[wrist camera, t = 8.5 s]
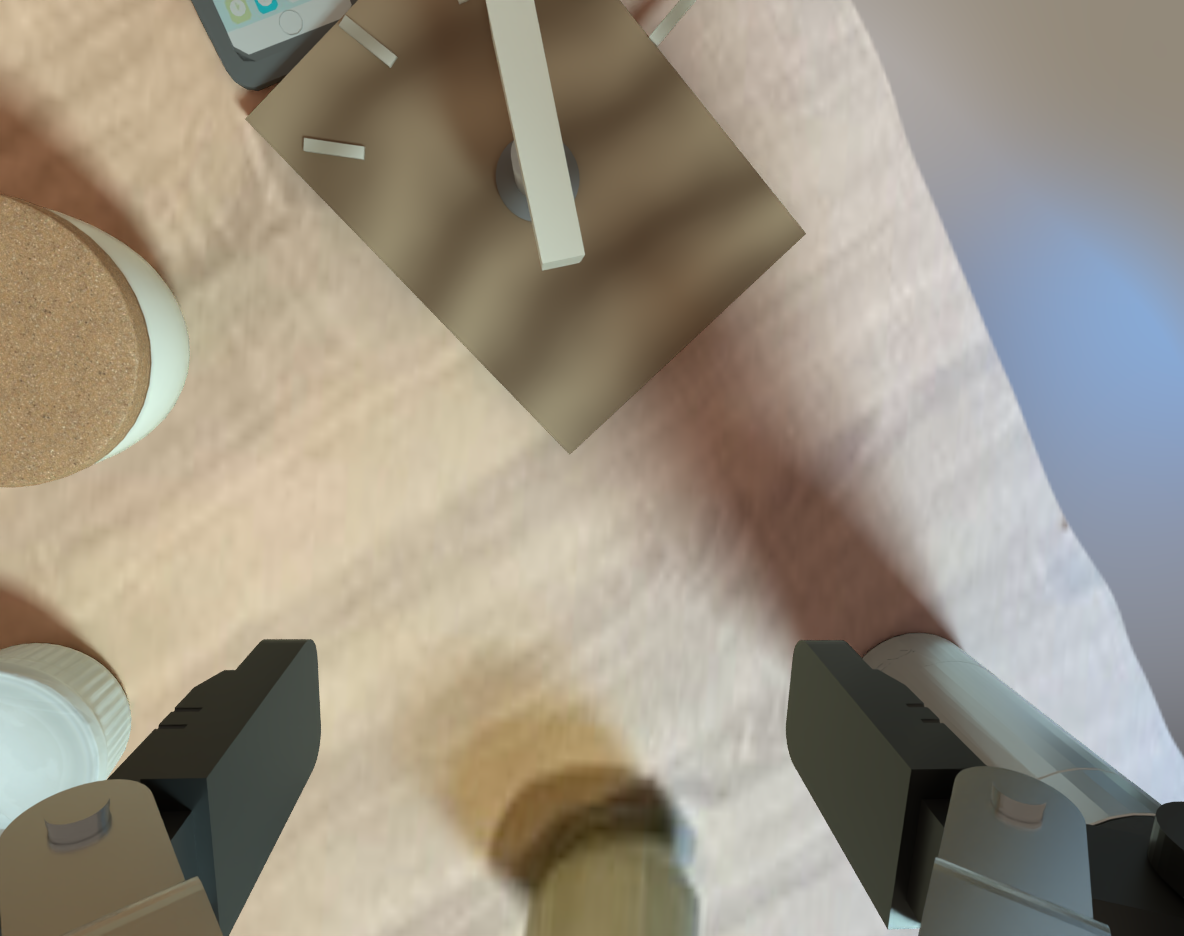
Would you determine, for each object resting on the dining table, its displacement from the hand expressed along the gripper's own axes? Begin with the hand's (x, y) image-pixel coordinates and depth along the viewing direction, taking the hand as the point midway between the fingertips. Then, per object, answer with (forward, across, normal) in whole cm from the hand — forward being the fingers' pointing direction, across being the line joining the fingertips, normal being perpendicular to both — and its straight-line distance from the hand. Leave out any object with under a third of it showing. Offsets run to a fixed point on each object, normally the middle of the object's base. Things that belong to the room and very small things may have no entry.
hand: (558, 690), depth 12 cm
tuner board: (+30, 0, -14) cm, 33 cm away
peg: (+28, +1, -17) cm, 32 cm away
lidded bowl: (+30, +24, -4) cm, 39 cm away
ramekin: (+30, +30, +18) cm, 46 cm away
